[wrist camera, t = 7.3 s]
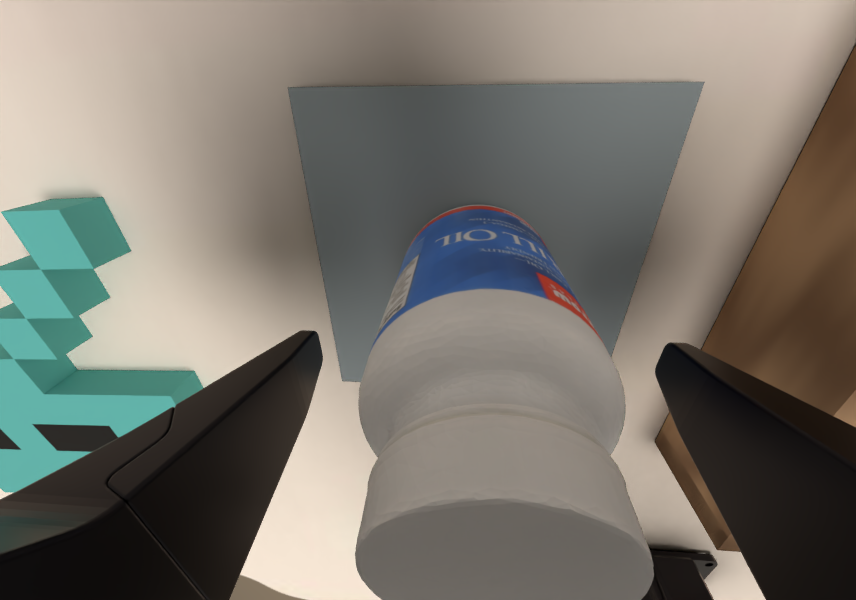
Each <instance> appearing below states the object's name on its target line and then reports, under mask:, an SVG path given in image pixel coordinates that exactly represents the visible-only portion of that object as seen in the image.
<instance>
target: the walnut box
mask: <svg viewBox="0 0 856 600" xmlns="http://www.w3.org/2000/svg"><path fill="white" fill-rule="evenodd" d="M702 351H704V352H706V353H708V354H710V355H712V356H714V357H716V358H718V359H720V360H722V361H724V362H726V363H728V364H730V365H732V366H734V367H736V368H738V369H740V370H742V371H744V372H746V373H748V374H750V375H752V376H754V377H756V378H758V379H760V380H762V381H764V382H766V383H768V384H770V385H772V386H774V387H776V388H778V389H780V390H782V391H784V392H786V393H788V394H790V395H792V396H794V397H796V398H798V399H800V400H802V401H804V402H806V403H808V404H810V405H812V406H814V407H816V408H818V409H820V410H822V411H824V412H826V413H828V414H830V415H832V416H834V417H836V418H838V419H840V420H842V421H844V422H846V423H848V424H850V425H852V426H854V427H856V45H855V47H854V49H853V51H852V53H851V55H850V57H849V59H848V61H847V63H846V65H845V67H844V69H843V71H842V73H841V75H840V77H839V79H838V81H837V83H836V85H835V87H834V89H833V91H832V93H831V95H830V97H829V99H828V101H827V103H826V105H825V107H824V109H823V111H822V113H821V114H820V116H819V118H818V120H817V122H816V124H815V126H814V128H813V130H812V132H811V134H810V136H809V138H808V140H807V142H806V144H805V146H804V148H803V150H802V152H801V154H800V156H799V158H798V160H797V162H796V164H795V166H794V168H793V170H792V172H791V174H790V176H789V178H788V180H787V182H786V184H785V186H784V188H783V190H782V192H781V193H780V195H779V197H778V199H777V201H776V203H775V205H774V207H773V209H772V211H771V213H770V215H769V217H768V219H767V221H766V223H765V225H764V227H763V229H762V231H761V233H760V235H759V237H758V239H757V241H756V243H755V245H754V247H753V249H752V251H751V253H750V255H749V257H748V259H747V261H746V263H745V265H744V267H743V269H742V271H741V272H740V274H739V276H738V278H737V280H736V282H735V284H734V286H733V288H732V290H731V292H730V294H729V296H728V298H727V300H726V302H725V304H724V306H723V308H722V310H721V312H720V314H719V316H718V318H717V320H716V322H715V324H714V326H713V328H712V330H711V332H710V334H709V336H708V338H707V340H706V342H705V344H704V346H703V348H702ZM655 443H656V445H657V447H658V449H659V450H660V452H661V454H662V456H663V457H664V459H665V461H666V462H667V464H668V466H669V468H670V469H671V471H672V473H673V475H674V476H675V478H676V480H677V481H678V483H679V485H680V487H681V488H682V490H683V492H684V494H685V495H686V497H687V499H688V500H689V502H690V504H691V506H692V507H693V509H694V511H695V513H696V514H697V516H698V518H699V520H700V521H701V523H702V525H703V526H704V528H705V530H706V532H707V533H708V535H709V537H710V539H711V540H712V542H713V544H714V545H715V547H716V549H717V550H723V551H737V552H741V551H740V549H739V547H738V545H737V544H736V542H735V540H734V538H733V536H732V534H731V532H730V530H729V528H728V526H727V524H726V523H725V521H724V519H723V517H722V515H721V513H720V511H719V509H718V507H717V505H716V504H715V502H714V500H713V498H712V496H711V494H710V492H709V490H708V488H707V486H706V484H705V483H704V481H703V479H702V477H701V475H700V473H699V471H698V469H697V467H696V465H695V463H694V462H693V460H692V458H691V456H690V454H689V452H688V450H687V448H686V446H685V444H684V443H683V441H682V439H681V437H680V434H679V432H678V430H677V428H676V426H675V423H674V421H673V418H672V416H671V413H669V415H668V417H667V419H666V421H665V423H664V425H663V427H662V429H661V430H660V432H659V434H658V436H657V438H656V440H655Z"/></svg>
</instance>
